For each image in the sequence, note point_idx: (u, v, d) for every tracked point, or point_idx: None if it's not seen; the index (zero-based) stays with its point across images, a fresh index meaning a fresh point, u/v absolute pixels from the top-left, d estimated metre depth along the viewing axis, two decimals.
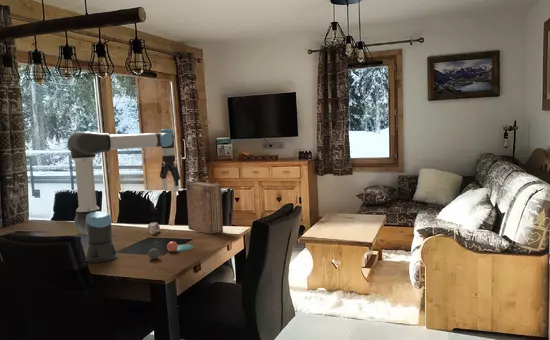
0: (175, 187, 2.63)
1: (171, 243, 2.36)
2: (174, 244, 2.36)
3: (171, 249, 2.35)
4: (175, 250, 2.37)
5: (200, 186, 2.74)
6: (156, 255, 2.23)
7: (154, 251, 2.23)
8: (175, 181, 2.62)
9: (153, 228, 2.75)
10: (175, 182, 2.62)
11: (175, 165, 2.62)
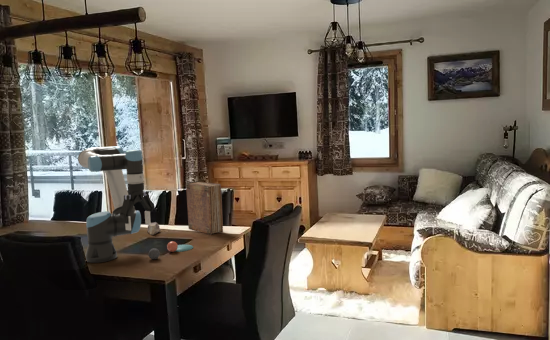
0: (126, 225, 2.09)
1: (171, 243, 2.36)
2: (174, 244, 2.36)
3: (171, 249, 2.35)
4: (175, 250, 2.37)
5: (200, 186, 2.74)
6: (156, 255, 2.23)
7: (154, 251, 2.23)
8: None
9: (153, 228, 2.75)
10: None
11: (126, 197, 2.07)
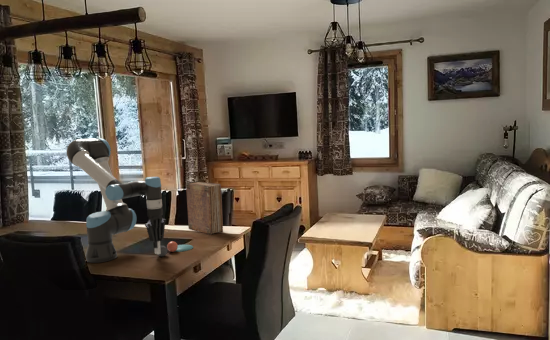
0: (155, 249, 2.26)
1: (171, 243, 2.36)
2: (174, 244, 2.36)
3: (171, 249, 2.35)
4: (175, 250, 2.37)
5: (200, 186, 2.74)
6: (164, 250, 2.28)
7: None
8: None
9: None
10: None
11: (147, 226, 2.20)
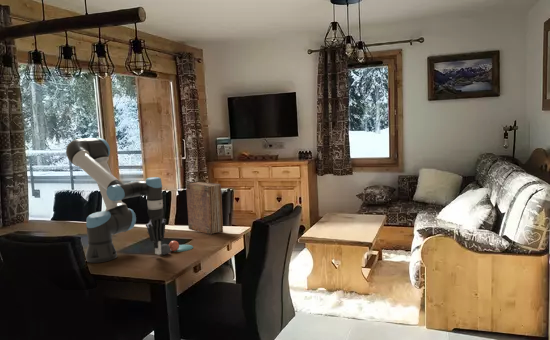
0: (156, 249, 2.27)
1: (174, 241, 2.38)
2: (176, 242, 2.38)
3: (172, 246, 2.36)
4: (176, 249, 2.37)
5: (200, 186, 2.74)
6: (168, 246, 2.32)
7: None
8: None
9: None
10: None
11: (148, 227, 2.21)
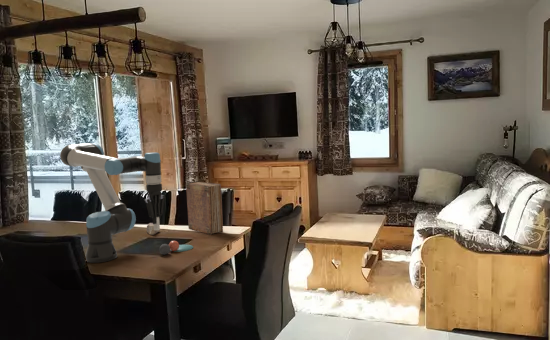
0: (154, 225, 2.26)
1: (174, 241, 2.38)
2: (176, 242, 2.38)
3: (172, 246, 2.36)
4: (176, 249, 2.37)
5: (200, 186, 2.74)
6: (168, 246, 2.32)
7: None
8: None
9: (153, 228, 2.75)
10: (153, 219, 2.25)
11: (147, 202, 2.19)
